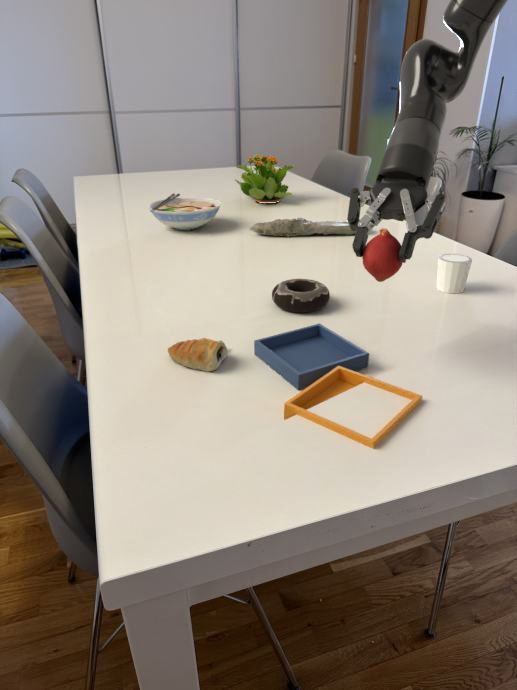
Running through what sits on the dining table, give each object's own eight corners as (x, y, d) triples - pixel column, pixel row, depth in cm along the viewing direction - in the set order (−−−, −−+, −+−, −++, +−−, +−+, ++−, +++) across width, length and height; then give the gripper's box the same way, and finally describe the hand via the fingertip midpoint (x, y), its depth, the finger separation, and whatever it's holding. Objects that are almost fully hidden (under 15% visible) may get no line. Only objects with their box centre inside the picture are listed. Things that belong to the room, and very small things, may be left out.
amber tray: (337, 380, 77) (338, 365, 76) (419, 411, 70) (422, 395, 69) (283, 419, 69) (284, 403, 67) (371, 460, 61) (373, 442, 60)
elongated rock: (371, 241, 151) (364, 234, 160) (373, 222, 149) (366, 217, 158) (253, 236, 149) (252, 230, 159) (253, 218, 147) (252, 212, 156)
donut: (275, 292, 111) (276, 274, 109) (330, 295, 109) (331, 277, 107) (267, 313, 100) (267, 294, 99) (327, 317, 99) (328, 297, 97)
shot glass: (456, 296, 107) (462, 264, 104) (427, 288, 112) (431, 257, 109) (472, 288, 111) (478, 257, 108) (443, 281, 116) (448, 250, 113)
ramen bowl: (211, 239, 150) (209, 210, 147) (137, 236, 154) (134, 209, 150) (230, 219, 172) (229, 194, 169) (165, 217, 176) (163, 193, 172)
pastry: (161, 366, 82) (158, 344, 80) (179, 347, 88) (177, 327, 86) (215, 374, 80) (214, 352, 78) (230, 355, 85) (230, 334, 84)
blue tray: (319, 336, 91) (319, 323, 90) (368, 367, 81) (369, 353, 80) (254, 354, 85) (253, 340, 84) (298, 390, 75) (298, 375, 74)
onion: (379, 272, 80) (384, 221, 76) (409, 282, 76) (415, 228, 72) (352, 280, 77) (356, 227, 73) (382, 291, 73) (387, 235, 69)
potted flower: (311, 204, 193) (313, 154, 185) (258, 212, 182) (257, 160, 174) (275, 194, 212) (275, 149, 204) (224, 200, 201) (222, 153, 193)
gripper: (358, 140, 77) (326, 238, 73) (459, 142, 70) (430, 250, 67) (366, 172, 83) (337, 263, 79) (459, 177, 77) (432, 276, 73)
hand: (379, 256), depth 73 cm, fingers closed on onion, 5 cm apart
